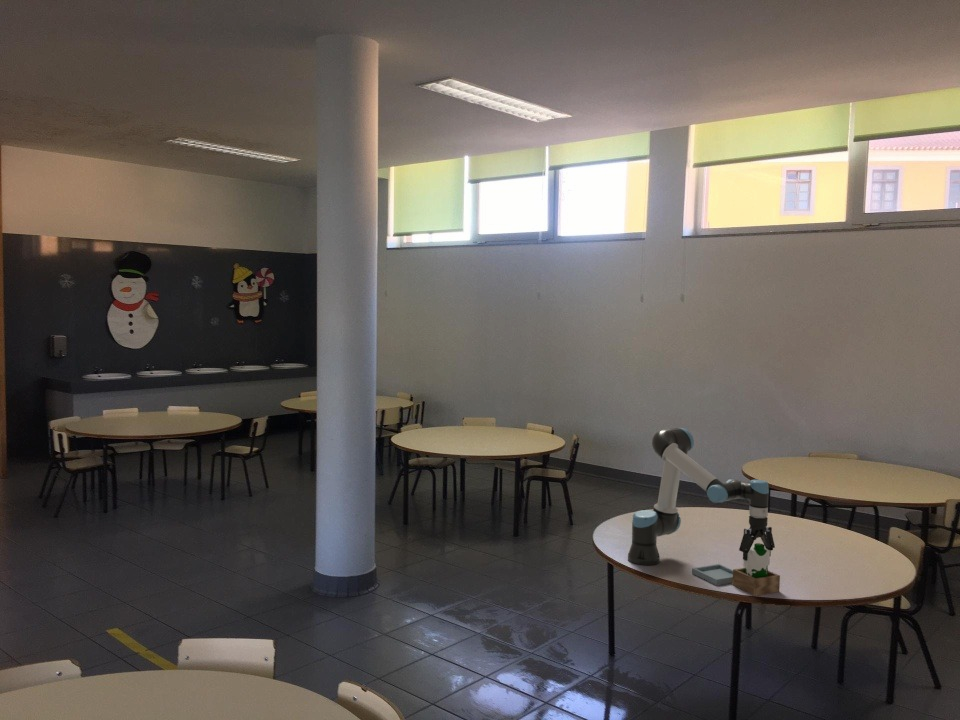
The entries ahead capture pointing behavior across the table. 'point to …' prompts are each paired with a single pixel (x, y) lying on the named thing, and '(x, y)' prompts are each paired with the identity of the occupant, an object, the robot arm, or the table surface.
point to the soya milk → (758, 561)
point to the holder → (756, 582)
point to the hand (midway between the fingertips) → (756, 565)
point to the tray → (714, 574)
